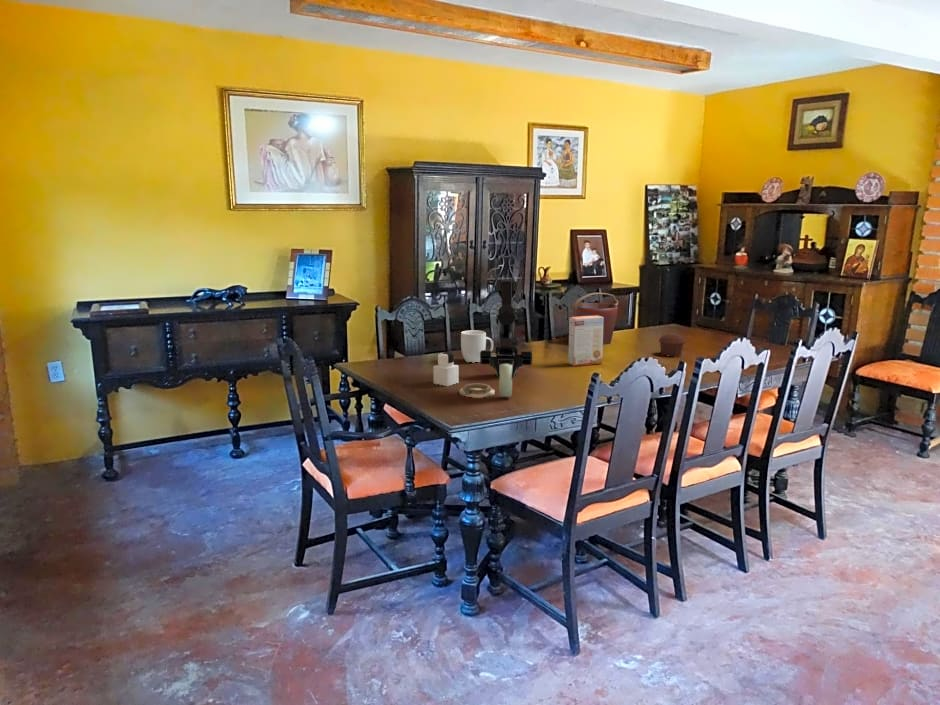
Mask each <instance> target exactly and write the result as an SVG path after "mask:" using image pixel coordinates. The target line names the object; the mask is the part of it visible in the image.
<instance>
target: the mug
mask: <svg viewBox="0 0 940 705" xmlns="http://www.w3.org/2000/svg"><path fill="white" fill-rule="evenodd" d="M488 340H489V342H490V349H489V350H491V353H493V352H492V351H493V350H494V341H493V339H492V338H490V337H488V336H487V333H486V331H484V330H478V329H477V330H475V329H474V330H470V329H469V330H464V331H461V332H460V348H461V349H460V350H461V354H462V357H463V359H464V360H465V362H466V363H469V362H472V363H471V364H475V362H478V363H480V352H481V351H482V350H486V347H487V341H488Z"/></svg>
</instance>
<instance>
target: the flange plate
mask: <svg viewBox="0 0 940 705" xmlns="http://www.w3.org/2000/svg"><path fill="white" fill-rule="evenodd" d="M458 391H459V395H460V396H462V397H464V396H465V398H469V397H472V398H471V399H484V398H483V397H486V398H490V397H493V396H494V395H495V392H496V390H495V389H494V388H492V386H491V385H490V384H486V383H479V382H478V383H475V382H474V383H467V384H464V385H463V387H462V388H460V389H459V390H458ZM492 395H493V396H492ZM489 396H490V397H489Z"/></svg>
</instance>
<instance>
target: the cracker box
mask: <svg viewBox="0 0 940 705" xmlns="http://www.w3.org/2000/svg"><path fill="white" fill-rule="evenodd" d="M603 320H604V317H601V316H598V315H596V316H580V317H573V316H570V317H569V318H568V321H569V322H568V359H567V360H568V362H567V363H568V364H569V365H571V366H573V367H579V365H581V366H592V365H600V364H601V365H603V348H604V347H603V346H604V345H603Z"/></svg>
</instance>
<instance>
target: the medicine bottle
mask: <svg viewBox="0 0 940 705" xmlns="http://www.w3.org/2000/svg"><path fill="white" fill-rule="evenodd" d="M454 356H455V355H454V354H453V353H451V352H448V351H447V352H445V351H444V352H440V353H439V354H437V364H436V365H433V368H432V369H433V372H432V373H433V374H432V375H433V384H434V385H438V384H439V386H442V385H443V386H444V387H450V386H452V385H453V384H454V385H456V383H457V384H459V380H460V379H459V365H458V364H454V363H455V361H454ZM443 386H442V387H443Z"/></svg>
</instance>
